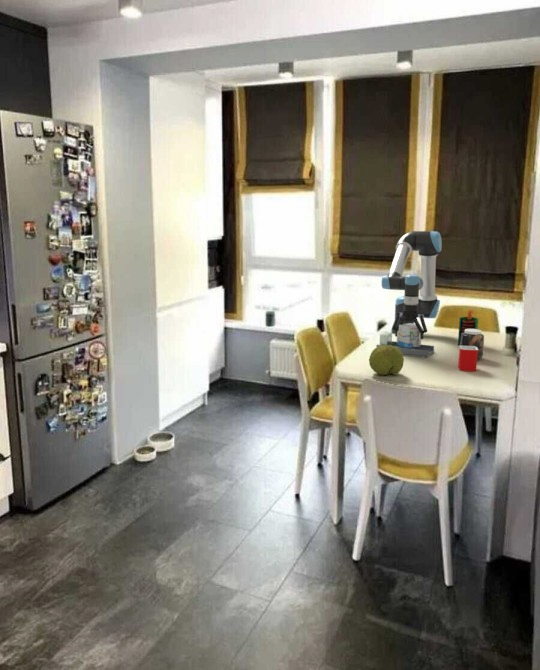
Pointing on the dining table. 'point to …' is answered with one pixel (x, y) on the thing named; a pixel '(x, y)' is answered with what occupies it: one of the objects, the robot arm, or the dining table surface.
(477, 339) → the jar
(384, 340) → the rail cradle
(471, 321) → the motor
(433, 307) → the robot arm
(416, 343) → the ink box
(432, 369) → the dining table surface
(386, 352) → the fruit
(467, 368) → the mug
